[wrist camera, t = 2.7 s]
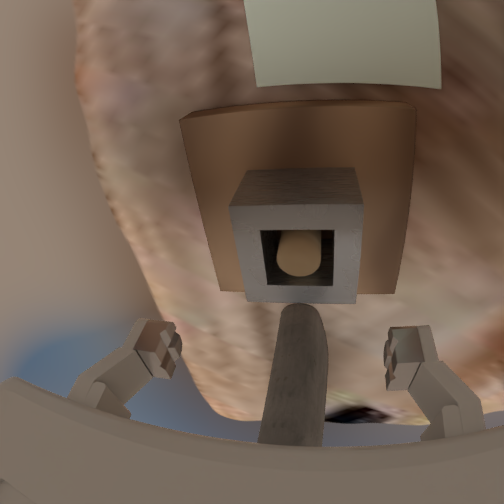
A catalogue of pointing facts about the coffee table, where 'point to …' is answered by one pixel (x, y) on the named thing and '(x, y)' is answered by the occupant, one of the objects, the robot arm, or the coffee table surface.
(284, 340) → the hip flask
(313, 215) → the collar
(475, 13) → the coffee table surface
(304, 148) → the peg stand
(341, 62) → the pad
